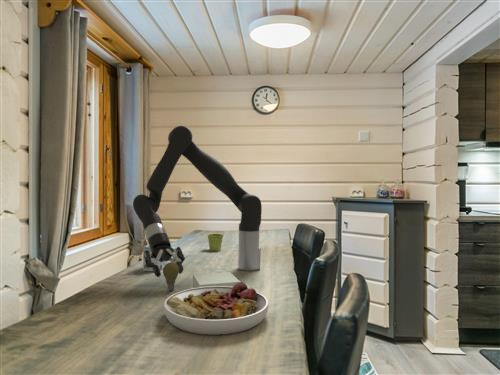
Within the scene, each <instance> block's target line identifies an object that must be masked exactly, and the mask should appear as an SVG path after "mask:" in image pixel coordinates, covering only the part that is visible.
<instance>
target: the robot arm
mask: <svg viewBox="0 0 500 375" xmlns="http://www.w3.org/2000/svg"><path fill="white" fill-rule="evenodd" d="M167 140H168V144H167V147H166V149H165V151H164V153H163V156H162V157H161V158H160V160H159V162H158V163H157V165H156V166H155V168H154V170H153V171H152V173H151V176H150V177H149V179H148V181H147V183H146V184H145V185H146V186H145V187H146V189H147V190H148V192H149V196H148V195H146V194H138V195H136V196H135V197H134V199H133V202H132V206H133V211H134V212H135V214H136V215H137V217H138V219H139V221H140V222H141V223H142V226H143V230H144V231H145V233H144V234H145V236H146V240H147V243H148V245H149V246H150V249H151V251H148V250H146V251H145V253H144V258H145V262H146V266H147V268H149V267H151V268H153V270H154V272H153V273H154V275H155V277H157V278H160V277H161V275H162V273H161V270H160V269H159V266H158V265H157V263H158V261H160V262H163V261H167V262H169V263H170V262H172V263H175V264H176V265H177V266H178V268H179V273H178V275H179V274H180V275H181V274H182V273H183V271H184V266H183V264H184V261H185V259H186V257H185V255H184V253H183V251H182V249H181V247H180V246H177V247H176V248H173V247H172V244H171V242H170V238H169V235H168V233H167V230H166V228H165V226H164V225H163V222H162V219H161V217H160V215H159V214H158V213H157V212H158V210H159V209H160V206H161V201H162V196H163V193H164V192H163V191H164V190H165V188H166V186H167V184H168V182H169V180H170V178H171V175H172V173H173V172H174V170H175V168H176V166H177V164H178V161H179V159H180V158H181V157H184V158H185V159H186V160H188V161H189V162H190V163H191V164H192V165H193V166H194V168H195V169H196V170H198V172H199V173H200V174H201V175H202V176H203V177H204V178H205V179H206V180H207V181H208V182H210V184H212V185H213V186H214V187H215V188H216V189H217V190H218V191H220V192H221V193H222V194H224V195H225V196H226V197H227V198H228V199H229V200H230V201H231V202H232V203H233V205H234V206H235V207H236V208H237V209H238V211H240V213H241V216H240V223H239V224H238V262H237V266H238V267H237V268H238V270H242V271H246V272H247V271H257V270H261V253H262V252H261V250H262V249H261V247H260V227H261V223H262V212H263V211H262V210H263V209H262V206H263V205H262V202H261V200H260V198H259V197H258V196H256V195H254V194H250V193H248V192H247V191H246V190H245V189H243V188H242V187H241V186H240V185H239V184H238V183H237V181H236V180H235V178H234V176H233V175H232V174H231V172H230V170H228V169H227V168H226V167H225V166H224V165H223V163H221V162H220V161H219V160H218V159H217V158H215V157H213V156H212V155H211V154H209V153H208V152H206V151H204V150H203V149H201V148H200V147H199V145H197V144H196V142H194V141H193V134H192V130H191V129H190V128H189V127H187V126H185V125H178V126H175V127H174V128H173V129H171V131H170V132H169V133H168V136H167ZM151 255H152V256H153V257H154V258H156V259H155V261H154V263H153V262H152V261H151V257H150V256H151Z"/></svg>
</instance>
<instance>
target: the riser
mask: <svg viewBox="0 0 500 375" xmlns="http://www.w3.org/2000/svg"><path fill="white" fill-rule="evenodd" d="M238 282H241V281H240V280H239V279H238V278H237V277H236V276H235V275H234V274H233V273H232V272H230V271H224V272H221V271H220V272H211V273H210V272H209V273H208V272H207V273H194V274H192V288H198V287H209V286H228V287H233V286H234V285H235V284H236V283H238Z"/></svg>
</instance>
